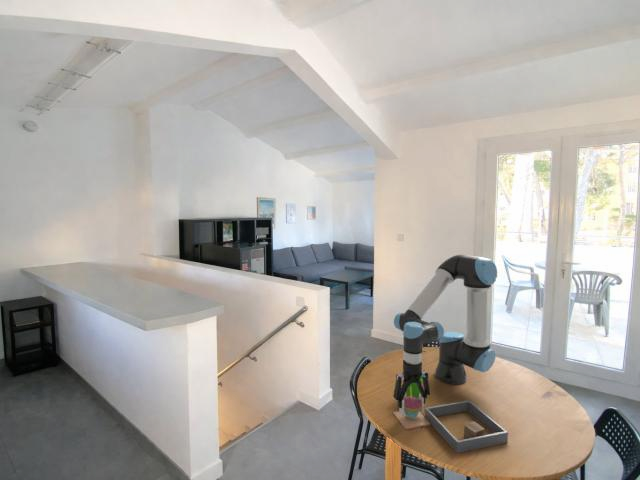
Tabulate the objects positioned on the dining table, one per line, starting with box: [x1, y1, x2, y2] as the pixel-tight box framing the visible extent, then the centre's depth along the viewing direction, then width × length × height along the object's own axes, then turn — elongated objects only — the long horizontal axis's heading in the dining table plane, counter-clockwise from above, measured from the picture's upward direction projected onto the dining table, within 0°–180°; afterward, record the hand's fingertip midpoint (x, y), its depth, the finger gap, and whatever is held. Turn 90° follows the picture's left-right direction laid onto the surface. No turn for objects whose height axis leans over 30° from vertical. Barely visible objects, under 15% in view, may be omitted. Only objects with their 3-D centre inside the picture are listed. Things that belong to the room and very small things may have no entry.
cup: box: [405, 376, 423, 399], centre depth 156 cm, size 9×9×11 cm
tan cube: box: [463, 420, 486, 439], centre depth 130 cm, size 5×5×5 cm
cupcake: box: [403, 385, 422, 418], centre depth 141 cm, size 9×8×12 cm
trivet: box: [392, 410, 431, 430], centre depth 142 cm, size 11×11×1 cm
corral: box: [424, 400, 509, 454], centre depth 135 cm, size 22×22×4 cm
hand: (411, 412), depth 142 cm, fingers closed on cupcake, 8 cm apart
